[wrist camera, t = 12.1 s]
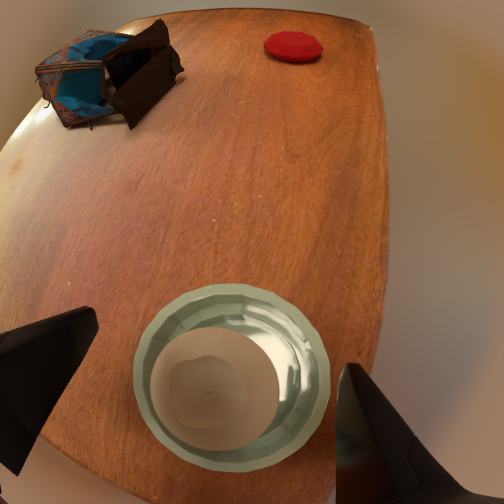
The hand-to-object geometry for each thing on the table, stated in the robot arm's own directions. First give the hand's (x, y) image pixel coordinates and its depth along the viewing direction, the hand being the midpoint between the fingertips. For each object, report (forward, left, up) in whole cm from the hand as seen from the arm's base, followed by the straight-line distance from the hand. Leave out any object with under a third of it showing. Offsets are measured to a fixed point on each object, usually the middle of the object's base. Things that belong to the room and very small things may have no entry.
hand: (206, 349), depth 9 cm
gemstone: (+42, +6, -12) cm, 45 cm away
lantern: (+25, +31, -12) cm, 42 cm away
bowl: (-2, 0, -12) cm, 12 cm away
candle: (-2, 0, -11) cm, 11 cm away
